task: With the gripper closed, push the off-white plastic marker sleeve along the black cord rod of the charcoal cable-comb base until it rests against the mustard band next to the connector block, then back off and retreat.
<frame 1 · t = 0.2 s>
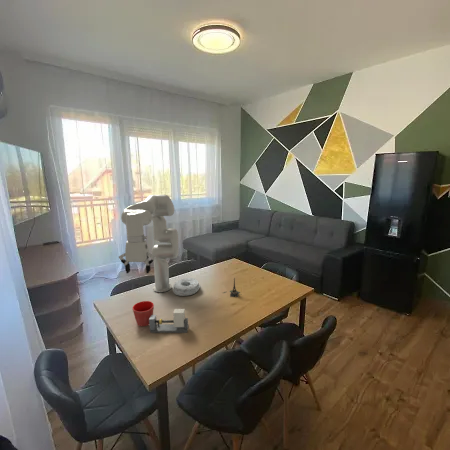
hand: (138, 272, 120), 31 cm above the table, fingers open, 9 cm apart
marker sleeve: (179, 317, 125), point 7 cm above the table, slide at 5.0 cm
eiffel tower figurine: (234, 296, 162), on the table
cable: (186, 291, 168), on the table
flower pot: (144, 322, 132), on the table
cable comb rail: (169, 329, 126), on the table
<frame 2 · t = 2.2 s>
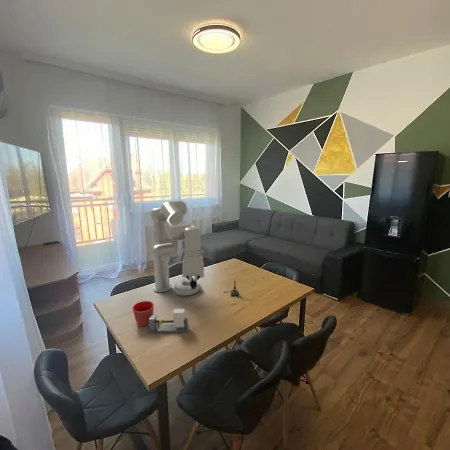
hand: (193, 287, 121), 23 cm above the table, fingers closed
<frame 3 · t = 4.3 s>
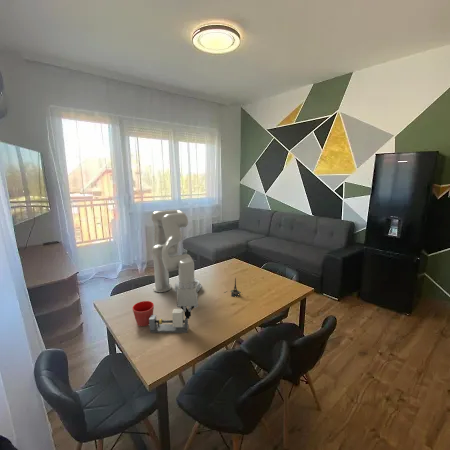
hand: (187, 317, 125), 7 cm above the table, fingers closed
marker sleeve: (178, 317, 125), point 7 cm above the table, slide at 4.4 cm, touching gripper
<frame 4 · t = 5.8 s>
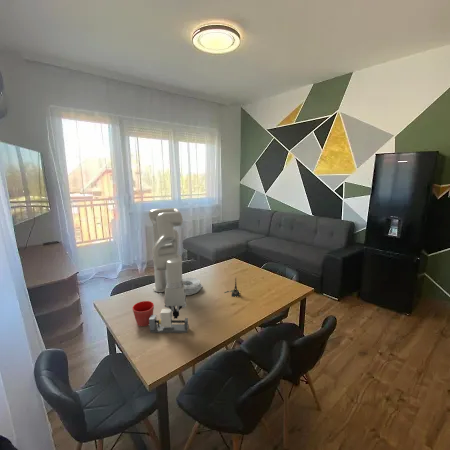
hand: (176, 317, 125), 7 cm above the table, fingers closed
marker sleeve: (166, 317, 125), point 7 cm above the table, slide at -1.5 cm, touching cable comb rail, gripper
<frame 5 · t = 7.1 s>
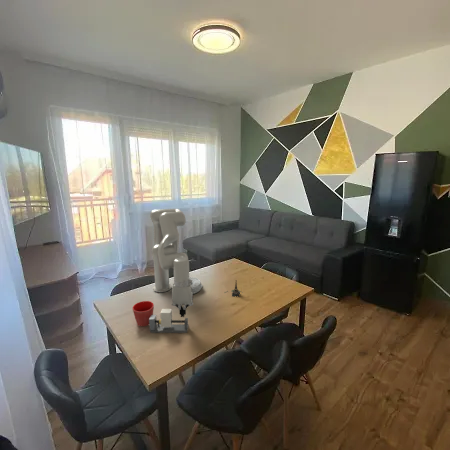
hand: (182, 315, 125), 8 cm above the table, fingers closed
marker sleeve: (166, 317, 125), point 7 cm above the table, slide at -1.5 cm, touching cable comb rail
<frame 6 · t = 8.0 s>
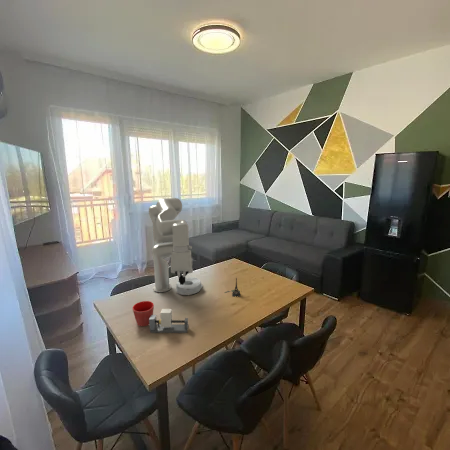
hand: (182, 283, 122), 25 cm above the table, fingers closed
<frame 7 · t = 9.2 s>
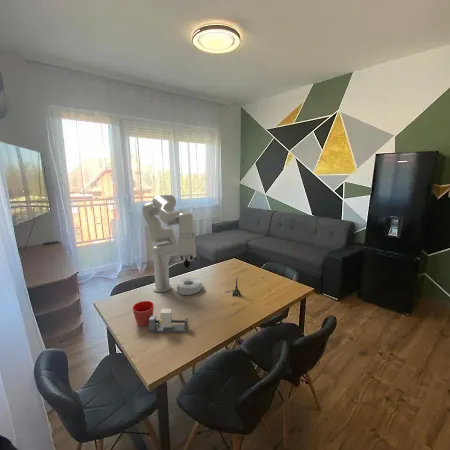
hand: (187, 267, 138), 27 cm above the table, fingers closed
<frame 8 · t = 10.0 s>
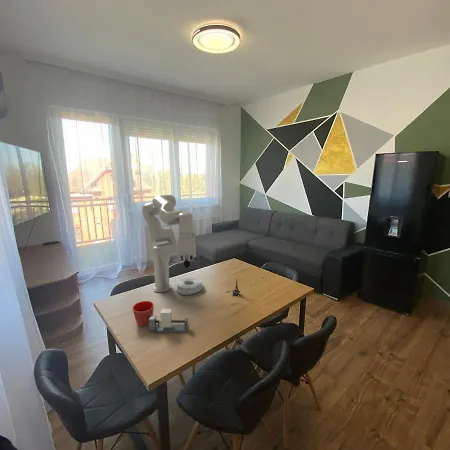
hand: (187, 266, 138), 27 cm above the table, fingers closed
at the end: marker sleeve slide at -1.5 cm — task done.
